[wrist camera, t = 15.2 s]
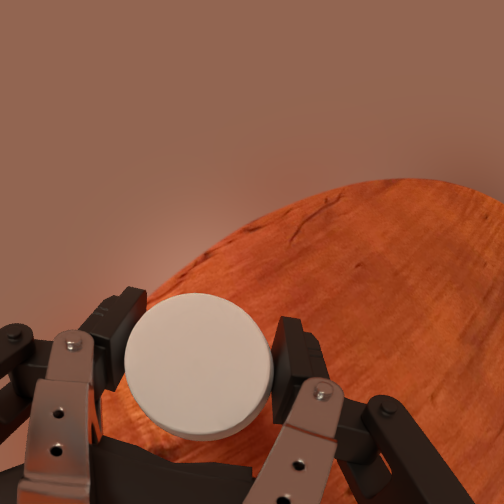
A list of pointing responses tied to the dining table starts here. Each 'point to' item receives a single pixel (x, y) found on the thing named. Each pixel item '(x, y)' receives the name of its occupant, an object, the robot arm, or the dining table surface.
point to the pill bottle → (199, 367)
